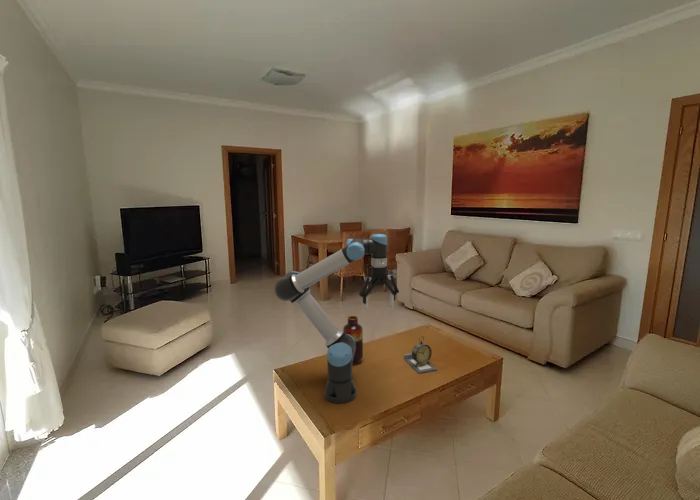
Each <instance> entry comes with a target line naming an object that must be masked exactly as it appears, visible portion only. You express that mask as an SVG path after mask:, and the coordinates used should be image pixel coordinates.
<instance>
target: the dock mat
mask: <svg viewBox="0 0 700 500" xmlns="http://www.w3.org/2000/svg"><path fill="white" fill-rule="evenodd" d="M403 360H404V361H405V362H406V363H407V364H408V365H409V366H410V367H411V368H412V369H413V370H414V371H415V372H416V373H417V374H418V375H421V374H425V373H431V372H436V371H437V370H438V369H437V368H436V367H435V366H434V365H433V364H432V363H430V362H429V361H428V362H429V363H428V362H427V363H425V364H419V363H418V365H417V366H416V364H417V362H416V361H415V360H414V359H413V357H412V352H410V353H404V354H403Z"/></svg>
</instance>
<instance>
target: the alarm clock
mask: <svg viewBox="0 0 700 500" xmlns="http://www.w3.org/2000/svg"><path fill="white" fill-rule="evenodd" d="M421 338H423V339H422V340H421ZM424 338H425V337H424V336H423V335H421V336H420V337H419V338H418V341H419V342H418V343H416V344H415V345H414V347H413V348H412V350H411V353H412V357H413V359H414V360H415V361H416V362H417V364H416V366H417V365H418V363H419V364H425V363H427V362H428V363H430V360H431V358H432V347H430V345H429V344H426V343H423V341H424V340H425V339H424Z"/></svg>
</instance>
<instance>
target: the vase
mask: <svg viewBox="0 0 700 500" xmlns="http://www.w3.org/2000/svg"><path fill="white" fill-rule="evenodd" d="M342 330H343V331H344V332H345V333H346V334H349V335H350V336H352V337H353V339H354V341H355V344H356V350H355V353H354V358H353V362H352V366H353V365H358V364H360V363H361V362H362V359H363V358H364V357H363V356H364V355H363V354H364V351H363V348H364V346H363V344H364V342H363V340H364V339H363V338H364V337H363V331H364V330H363V326H362V325H361V324H360V323H359V318H358V316H356V315H350V316H349V315H348V317H347V323H346V324H345V325H344V326H343V327H342Z"/></svg>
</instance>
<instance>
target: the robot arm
mask: <svg viewBox="0 0 700 500" xmlns="http://www.w3.org/2000/svg"><path fill="white" fill-rule="evenodd" d="M364 255H371V256H370V257H371V276H365V277H364V282H363V284H362V286H361V288H360V291H359V293H358V295H359V296H360V297H361V298H362V303H363V304H364V311H367V312H368V311H369V298H368V295H369V294H370V293H371V292H372V290H373V289H374V288H375V287H376V286H385V287H386V288H387V289H388V290H389V292H390V294H389V296H390V298H389V307H390V308H392V309H395V308H394V307H395V306H394V305H395V304H394V303H395V301H396V295H397V294H398V293H400V290H399V288H398V286H397V284H396V282H395V279H394V276H393V275H392V274H388V267H387V266H388V236H387V235H386V234H383V233H376V234H375V233H374V234H372V235H371V237H370V238H355V237H354V238H347V240H346V243H345V246H344V247H343V248H341V249H340V250H337V251H336V252H334V253H333V254H330V255H329V256H327V257H325V258H323V259H322V260H320V261H318V262H317V263H315V264H313V265H311V266H310V267H308V268H306V269H305V270H302V271H301V272H299V271H290V272H287V273H286V274H284V275H283V276H282V277H280V278H279V279H278V280H277V281H276V282H275V285H274V293H275V296H276V297H277V298H278V299H279V300H281V301H283V302H290V303H291V304H294V305H297V307H298V308H299V309H300V311H301V312H303V314H304V315H305V316H306V318H307V319H308V321H309V322H311V324H312V325H313V326H314V328H315V329H316V331H318V332H319V334H320V335H321V337H322V338H323V339H324V341H325V347H326V348H327V349H328V350H327V351H326V352H327V354H326V359H327V381H326V385H325V387H324V397H325V399H326V400H327V401H328V402H331V403H334V404H346V403H349V402H351V401H353V400H354V399H355V398H356V396H357V388H356V384H355V382H354V380H353V365H352V362H353V358H354V353H355V350H356V344H355V341H354V339H353V337H352V336H350V335H349V334H346V333H345V332H344V331H343V329H340V328H338V326H337V325H336V324H335V323H334V321H333V320H332V319H331V317H329V315H328V314H327V313H326V312H325V310H324V309H323V308H322V307H321V306H320V304H319V302H317V301H316V299H315V297H313V296H312V294H311V288H310V287H311V286H312V285H314V284H317V283H318V282H319V281H321V280H323V279H325V278H326V277H328V276H331V275H332V274H334V273H336V272H337V271H339V270H341V269H343V268H345V267H346V266H348V265H349V264H351V263H354V262H356V261H359V260H361V259H362V258H363V257H364ZM388 280H389V282H390V284H391V285H390V284H389V283H388V282H387V281H388ZM369 282H370V284H369ZM391 286H392V287H391Z"/></svg>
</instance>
